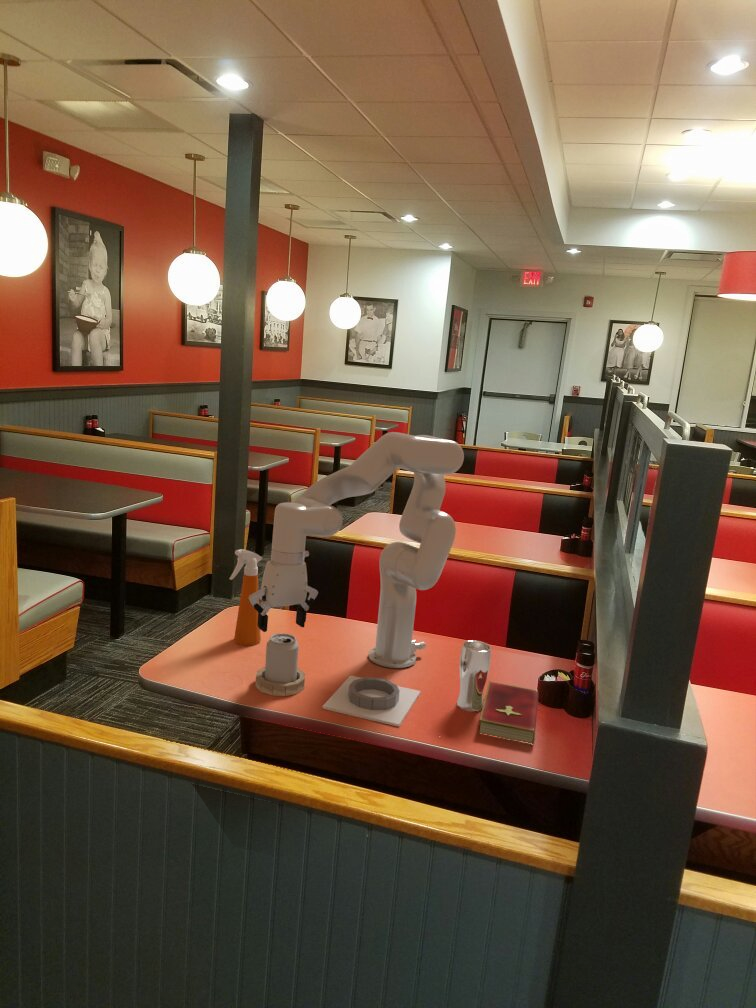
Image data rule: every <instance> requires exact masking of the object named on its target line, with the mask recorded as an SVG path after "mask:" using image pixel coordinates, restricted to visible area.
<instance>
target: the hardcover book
mask: <svg viewBox="0 0 756 1008" xmlns="http://www.w3.org/2000/svg"><path fill="white" fill-rule="evenodd" d="M538 690H539V689H533V688H528V687H522V686H517V685H512V684H507V683H502V682H497V681H491V680H489V681H488V684H487V688H486V691H485V696H484V699H483V707H482V710H480V711H481V712H480V714H479V719H478V722H480V728H479V733H482V734H487V735H492V736H497V737H501V738H505V739H510V740H517V741H523V742H528V743H532V744H533V745H534V744H535V739H536V738H535V737H536V726H537V716H538V715H537V714H538V713H537V712H538V705H539V704H538V703H539V691H538ZM505 739H504V740H505ZM510 740H509V741H510Z"/></svg>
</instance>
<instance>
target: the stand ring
mask: <svg viewBox="0 0 756 1008" xmlns="http://www.w3.org/2000/svg"><path fill="white" fill-rule="evenodd" d="M305 679H306V673H305V672H304V671H303V670H302V669H301V668H299V667H297V679H296V681H295V682H291V683H286V684H280V683H272V682H269V681H266V680H265V666H263V667H262V668H260V669H258V670H256V676H255V688H256V689H257V690H258V691H259V692H261V693H263V694H266V695H270V696H276V697H287V696H288V697H289V696H292V695H297V694H299V693H301V692H302V691H303V690H305V684H306V683H305Z"/></svg>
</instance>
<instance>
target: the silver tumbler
mask: <svg viewBox="0 0 756 1008" xmlns="http://www.w3.org/2000/svg"><path fill="white" fill-rule="evenodd" d="M460 651H461V652H460V658H459V683H460V686H459V687H460V688H459V689H460V690H459V695H458V696H457V697H458V698H457V700H456V706H457V707H458V708H459V707H460V708H459V709H461V710H463V709H464V710H463V711H465V710H467V711H466V712H469V711H477V712H480V711H482V710H481V709H482V707H483V703H484V699H483V698H484V697H483V694H484V689H485V687H486V686H485V685H486V683H487V679H488V676H489V672H490V668H491V659H492V647H491V645H490V644H489V643H487V642H484V641H481V640H473V639H472V640H465V641H464V642H463V643H462V647H461V650H460ZM479 710H480V711H479Z"/></svg>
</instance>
